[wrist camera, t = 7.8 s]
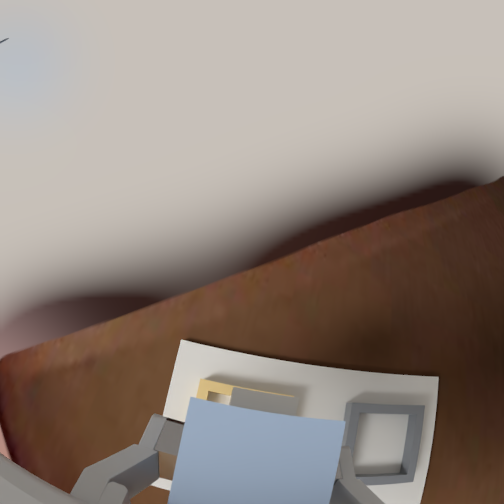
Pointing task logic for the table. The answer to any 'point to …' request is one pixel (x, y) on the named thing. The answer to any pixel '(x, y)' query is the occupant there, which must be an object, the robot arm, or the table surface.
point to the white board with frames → (327, 409)
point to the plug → (255, 452)
